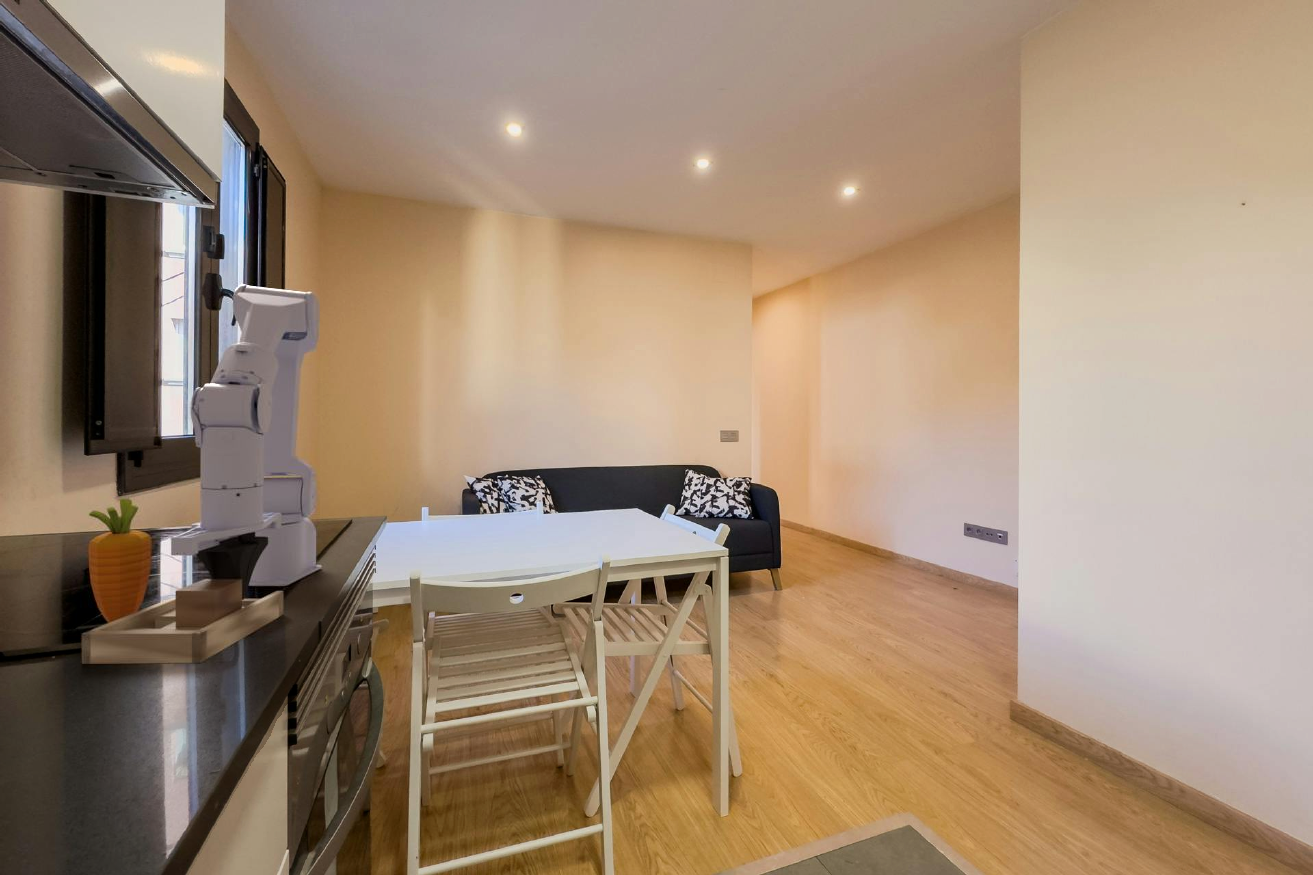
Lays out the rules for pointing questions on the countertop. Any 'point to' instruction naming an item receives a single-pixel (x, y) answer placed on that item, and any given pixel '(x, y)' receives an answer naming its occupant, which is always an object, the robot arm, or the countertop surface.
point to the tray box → (174, 634)
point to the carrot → (119, 563)
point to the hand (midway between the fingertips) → (232, 600)
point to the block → (207, 601)
